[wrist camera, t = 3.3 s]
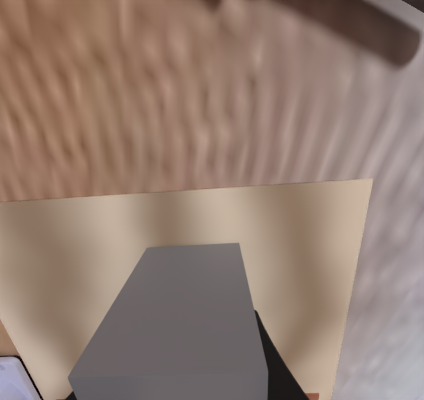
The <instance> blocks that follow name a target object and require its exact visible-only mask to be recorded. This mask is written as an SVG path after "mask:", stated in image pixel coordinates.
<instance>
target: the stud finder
mask: <svg viewBox="0 0 424 400" xmlns="http://www.w3.org/2000/svg"><path fill="white" fill-rule="evenodd" d="M67 378H68V381H69V383H70V385H71V387H72V389H73V392H74V394H75V396H76V398H77V400H267V396H268V369H267V364H266V360H265V355H264V351H263V347H262V342H261V338H260V333H259V329H258V324H257V320H256V316H255V311H254V307H253V302H252V298H251V293H250V289H249V285H248V280H247V276H246V271H245V267H244V263H243V258H242V254H241V249H240V245H239V243H224V244H206V245H187V246H168V247H150V248H146V250H145V252H144V253H143V255H142V257H141V258H140V260H139V261H138V263H137V265H136V266H135V268H134V270H133V271H132V273H131V274H130V276H129V278H128V279H127V281H126V283H125V284H124V286H123V288H122V289H121V291H120V292H119V294H118V296H117V297H116V299H115V301H114V302H113V304H112V305H111V307H110V309H109V310H108V312H107V314H106V315H105V317H104V319H103V320H102V322H101V323H100V325H99V327H98V328H97V330H96V332H95V333H94V335H93V337H92V338H91V340H90V341H89V343H88V345H87V346H86V348H85V350H84V351H83V353H82V354H81V356H80V358H79V359H78V361H77V363H76V364H75V366H74V368H73V369H72V371H71V372H70V374H69V376H68V377H67Z"/></svg>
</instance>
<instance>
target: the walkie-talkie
mask: <svg viewBox="0 0 424 400" xmlns="http://www.w3.org/2000/svg"><path fill="white" fill-rule="evenodd" d="M403 1H404V2H406V3H408V4H410V5H411V6H413V7H415V8H416V9H418V10H420V11H422V12H423V13H424V0H403Z"/></svg>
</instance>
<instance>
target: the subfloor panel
mask: <svg viewBox="0 0 424 400" xmlns="http://www.w3.org/2000/svg"><path fill="white" fill-rule="evenodd" d="M372 183H373V179H358V180H342V181H326V182H311V183H295V184H279V185H263V186H247V187H232V188H216V189H200V190H184V191H169V192H153V193H137V194H121V195H106V196H90V197H74V198H58V199H43V200H27V201H11V202H0V319H1V321H2V323H3V325H4V326H5V328H6V330H7V332H8V334H9V336H10V338H11V340H12V341H13V343H14V345H15V347H16V349H17V351H18V353H19V354H20V356H21V358H22V360H23V362H24V364H25V366H26V368H27V369H28V371H29V373H30V375H31V377H32V379H33V381H34V382H35V384H36V386H37V388H38V390H39V392H40V394H41V396H42V397H43V399H44V400H65V399H66V398H67V397H68V396H69V395H70V393H71V392H72V391H73V389H72V387H71V385H70V383H69V381H68V378H67V377H68V376H69V374H70V372H71V371H72V369H73V368H74V366H75V364H76V363H77V361H78V359H79V358H80V356H81V354H82V353H83V351H84V350H85V348H86V346H87V345H88V343H89V341H90V340H91V338H92V337H93V335H94V333H95V332H96V330H97V328H98V327H99V325H100V323H101V322H102V320H103V319H104V317H105V315H106V314H107V312H108V310H109V309H110V307H111V305H112V304H113V302H114V301H115V299H116V297H117V296H118V294H119V292H120V291H121V289H122V288H123V286H124V284H125V283H126V281H127V279H128V278H129V276H130V274H131V273H132V271H133V270H134V268H135V266H136V265H137V263H138V261H139V260H140V258H141V257H142V255H143V253H144V252H145V250H146V248H150V247H168V246H187V245H206V244H224V243H239V245H240V249H241V254H242V258H243V263H244V267H245V271H246V276H247V280H248V285H249V289H250V293H251V298H252V302H253V307H254V310H256V311H257V312H258V314H259V317H260V319H261V321H262V323H263V325H264V327H265V329H266V331H267V333H268V335H269V337H270V339H271V340H272V342H273V344H274V346H275V347H276V349H277V351H278V352H279V354H280V356H281V358H282V359H283V361H284V362H285V364H286V366H287V367H288V369H289V370H290V372H291V373H292V375H293V376H294V378H295V379H296V381H297V382H298V384H299V385H300V387H301V388H302V390H303V391H304V392H305V394H306V395H307V397H308V398H309V399H310V400H331V398H332V393H333V387H334V382H335V377H336V372H337V366H338V361H339V356H340V351H341V345H342V340H343V335H344V330H345V324H346V319H347V314H348V309H349V303H350V298H351V293H352V288H353V282H354V277H355V272H356V267H357V261H358V256H359V251H360V246H361V240H362V235H363V230H364V225H365V219H366V214H367V209H368V204H369V198H370V193H371V188H372Z"/></svg>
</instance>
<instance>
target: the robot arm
mask: <svg viewBox="0 0 424 400" xmlns="http://www.w3.org/2000/svg"><path fill="white" fill-rule="evenodd" d="M254 311H255V316H256V320H257V324H258V329H259V333H260V338H261V342H262V347H263V351H264V355H265V360H266V364H267V369H268V396H267V400H310V399H309V398H308V397H307V395H306V394H305V392H304V391H303V390H302V388H301V387H300V385H299V384H298V382H297V381H296V379H295V378H294V376H293V375H292V373H291V372H290V370H289V369H288V367H287V366H286V364H285V362H284V361H283V359H282V358H281V356H280V354H279V352H278V351H277V349H276V347H275V346H274V344H273V342H272V340H271V339H270V337H269V335H268V333H267V331H266V329H265V327H264V325H263V323H262V321H261V319H260V317H259V314H258V312H257V311H256V310H254ZM0 400H41V399H40V397H39V395H38V393H37V391H36V389H35V388H34V386H33V384H32V382H31V380H30V378H29V376H28V375H27V373H26V371H25V369H24V367H23V365H22V364H21V362H20V360H19V359H18V358H16V357H0ZM65 400H77V398H76V396H75V394H74V392H73V391H72V392H71V393H70V395H69V396H68V397H67V398H66V399H65Z"/></svg>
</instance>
